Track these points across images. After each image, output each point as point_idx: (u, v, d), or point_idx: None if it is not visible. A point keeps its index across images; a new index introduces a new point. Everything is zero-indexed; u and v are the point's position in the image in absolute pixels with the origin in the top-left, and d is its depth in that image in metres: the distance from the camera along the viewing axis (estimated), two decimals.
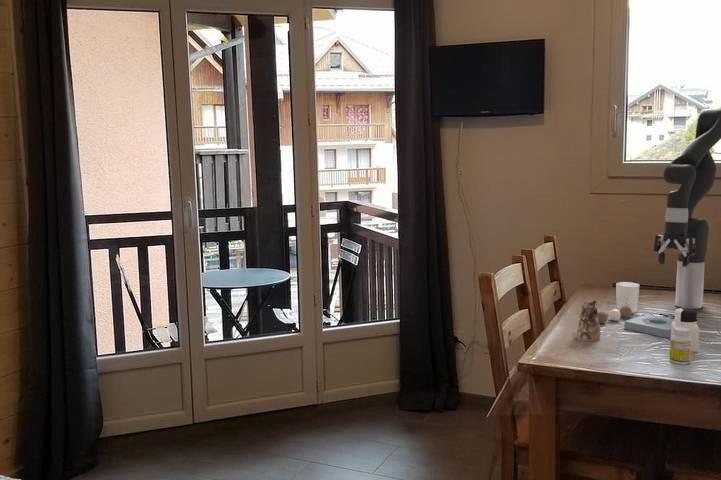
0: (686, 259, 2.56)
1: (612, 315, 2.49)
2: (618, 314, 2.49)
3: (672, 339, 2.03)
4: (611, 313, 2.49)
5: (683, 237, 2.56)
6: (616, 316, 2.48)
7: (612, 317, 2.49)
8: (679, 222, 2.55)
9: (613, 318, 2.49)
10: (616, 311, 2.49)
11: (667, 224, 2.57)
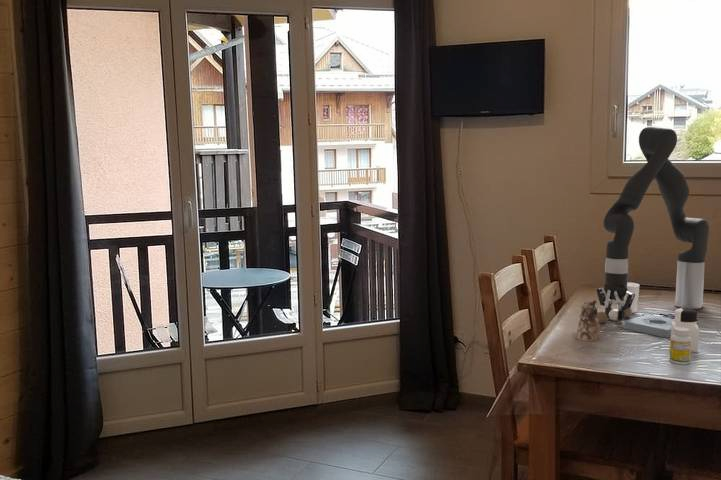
0: (621, 313, 2.48)
1: (612, 315, 2.49)
2: None
3: (672, 339, 2.03)
4: (611, 313, 2.49)
5: (624, 289, 2.46)
6: (616, 317, 2.48)
7: (612, 317, 2.49)
8: (619, 273, 2.45)
9: (613, 318, 2.49)
10: (616, 311, 2.49)
11: (607, 275, 2.47)
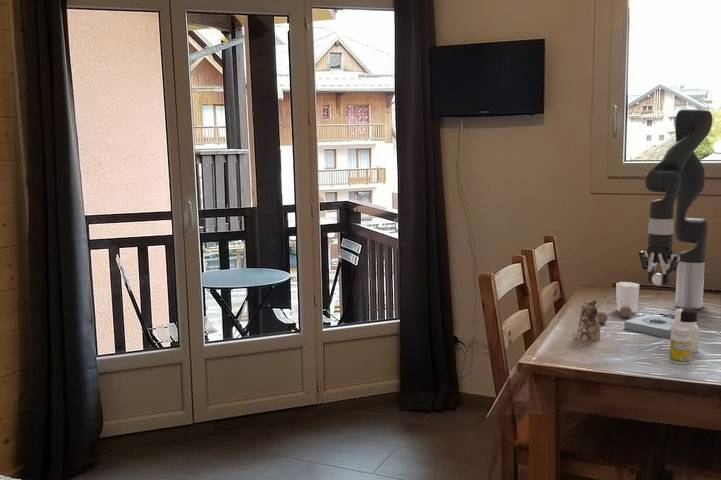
0: (666, 277, 2.34)
1: (655, 280, 2.36)
2: None
3: (672, 339, 2.03)
4: (655, 277, 2.36)
5: (669, 251, 2.32)
6: (660, 281, 2.35)
7: (655, 281, 2.36)
8: (663, 234, 2.31)
9: (657, 282, 2.36)
10: (660, 275, 2.36)
11: (650, 236, 2.34)
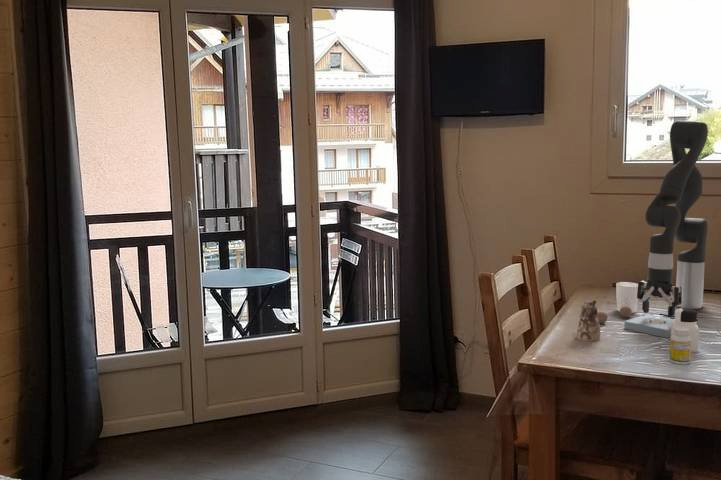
0: (672, 309, 2.34)
1: None
2: (661, 322, 2.37)
3: (672, 339, 2.03)
4: (654, 321, 2.38)
5: (668, 285, 2.34)
6: None
7: None
8: (663, 269, 2.33)
9: None
10: (659, 319, 2.37)
11: (650, 271, 2.35)
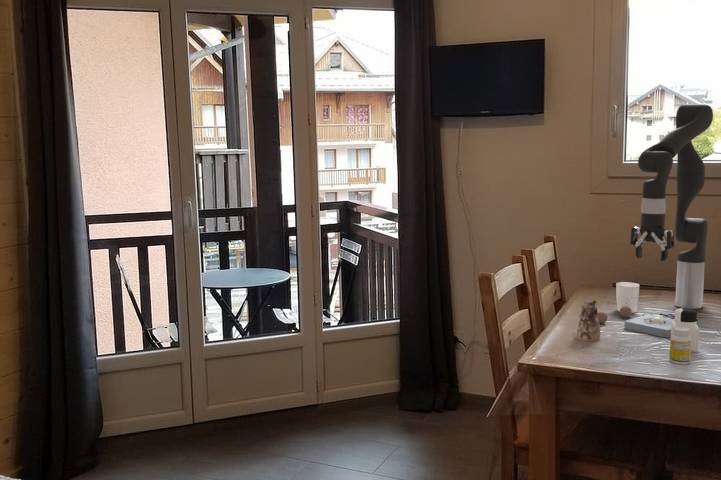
0: (664, 253, 2.38)
1: None
2: (661, 322, 2.37)
3: (672, 339, 2.03)
4: (654, 321, 2.38)
5: (661, 229, 2.37)
6: None
7: None
8: (656, 214, 2.36)
9: None
10: (659, 319, 2.37)
11: (643, 216, 2.39)
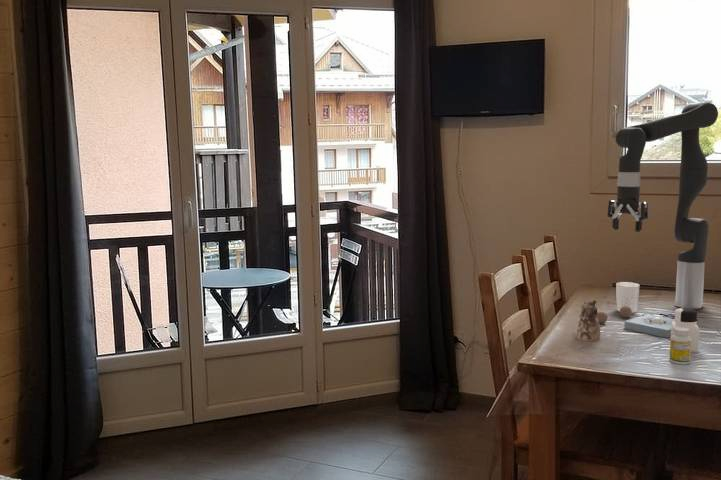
0: (639, 224, 2.52)
1: None
2: (661, 322, 2.37)
3: (672, 339, 2.03)
4: (654, 321, 2.38)
5: (635, 201, 2.52)
6: None
7: None
8: (631, 186, 2.51)
9: None
10: (659, 319, 2.37)
11: (619, 189, 2.54)
